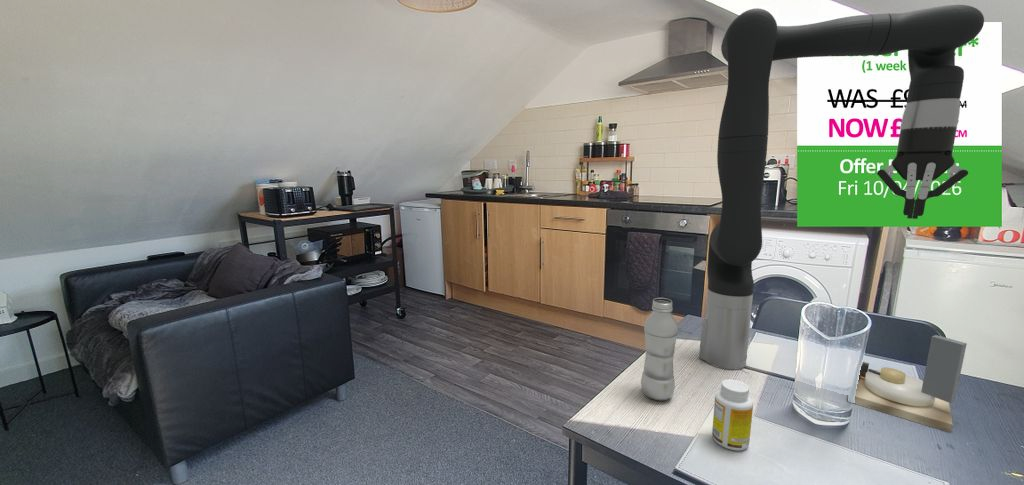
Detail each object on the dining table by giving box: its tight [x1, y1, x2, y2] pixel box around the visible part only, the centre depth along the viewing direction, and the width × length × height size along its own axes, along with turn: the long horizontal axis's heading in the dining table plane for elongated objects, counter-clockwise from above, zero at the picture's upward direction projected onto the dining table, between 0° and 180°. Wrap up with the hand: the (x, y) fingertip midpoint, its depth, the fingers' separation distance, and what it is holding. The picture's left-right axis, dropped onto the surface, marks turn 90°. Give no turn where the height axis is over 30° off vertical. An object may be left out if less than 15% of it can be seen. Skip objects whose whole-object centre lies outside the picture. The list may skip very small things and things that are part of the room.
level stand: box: [854, 361, 954, 433], centre depth 80 cm, size 14×14×4 cm
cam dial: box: [864, 334, 967, 407], centre depth 78 cm, size 12×10×13 cm
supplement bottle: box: [711, 378, 754, 452], centre depth 68 cm, size 6×6×10 cm
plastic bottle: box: [640, 297, 679, 402], centre depth 81 cm, size 6×7×20 cm
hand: (912, 218), depth 80 cm, fingers closed
